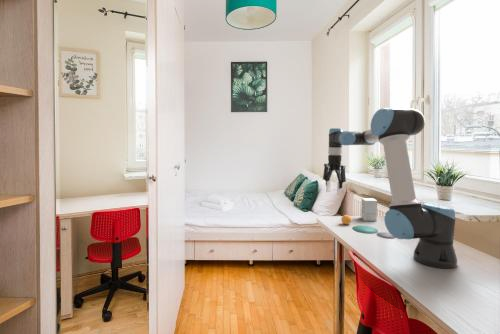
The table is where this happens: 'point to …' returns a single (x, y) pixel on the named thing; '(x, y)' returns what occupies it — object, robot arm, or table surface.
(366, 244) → the table surface
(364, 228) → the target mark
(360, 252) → the table surface
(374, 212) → the supplement box
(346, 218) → the ball
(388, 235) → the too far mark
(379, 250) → the table surface
